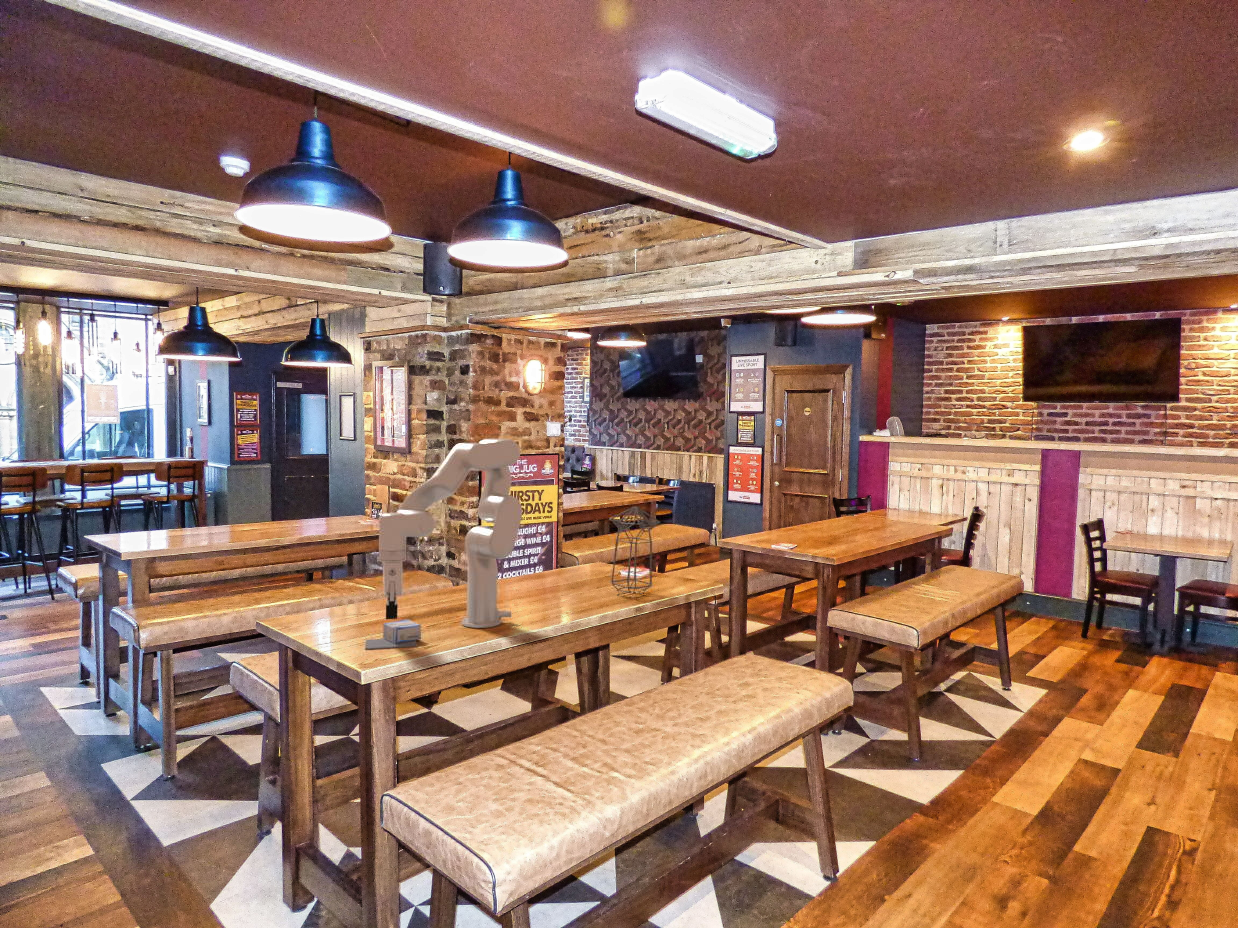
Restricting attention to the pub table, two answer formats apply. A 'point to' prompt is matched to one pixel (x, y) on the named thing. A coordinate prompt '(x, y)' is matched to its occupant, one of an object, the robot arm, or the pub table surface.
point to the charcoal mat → (387, 644)
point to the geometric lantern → (638, 511)
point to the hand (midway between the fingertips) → (391, 618)
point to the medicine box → (401, 631)
